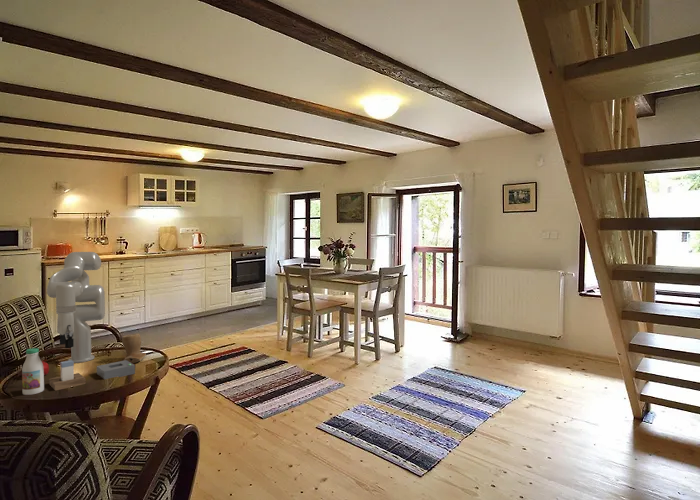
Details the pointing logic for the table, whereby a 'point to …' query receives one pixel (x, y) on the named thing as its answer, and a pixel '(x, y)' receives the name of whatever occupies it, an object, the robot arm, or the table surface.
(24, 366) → the milk bottle
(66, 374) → the plug
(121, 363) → the port block
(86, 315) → the robot arm
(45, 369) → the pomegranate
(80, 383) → the slotted socket block
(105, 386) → the table surface
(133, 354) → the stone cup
